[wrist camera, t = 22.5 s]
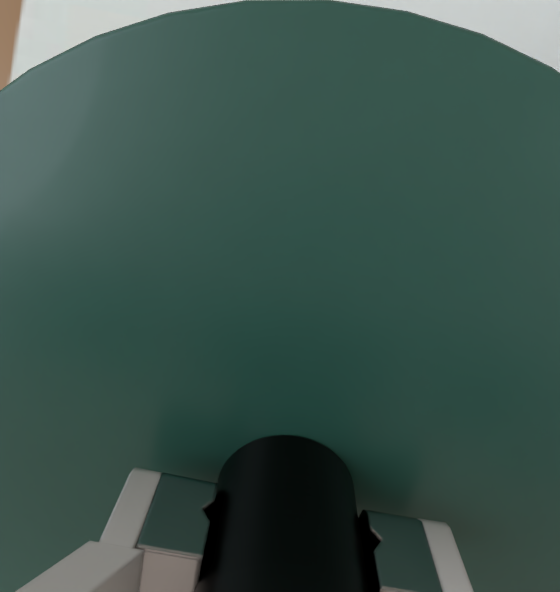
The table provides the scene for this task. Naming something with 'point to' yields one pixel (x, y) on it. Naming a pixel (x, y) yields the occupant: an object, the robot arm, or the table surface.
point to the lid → (284, 291)
